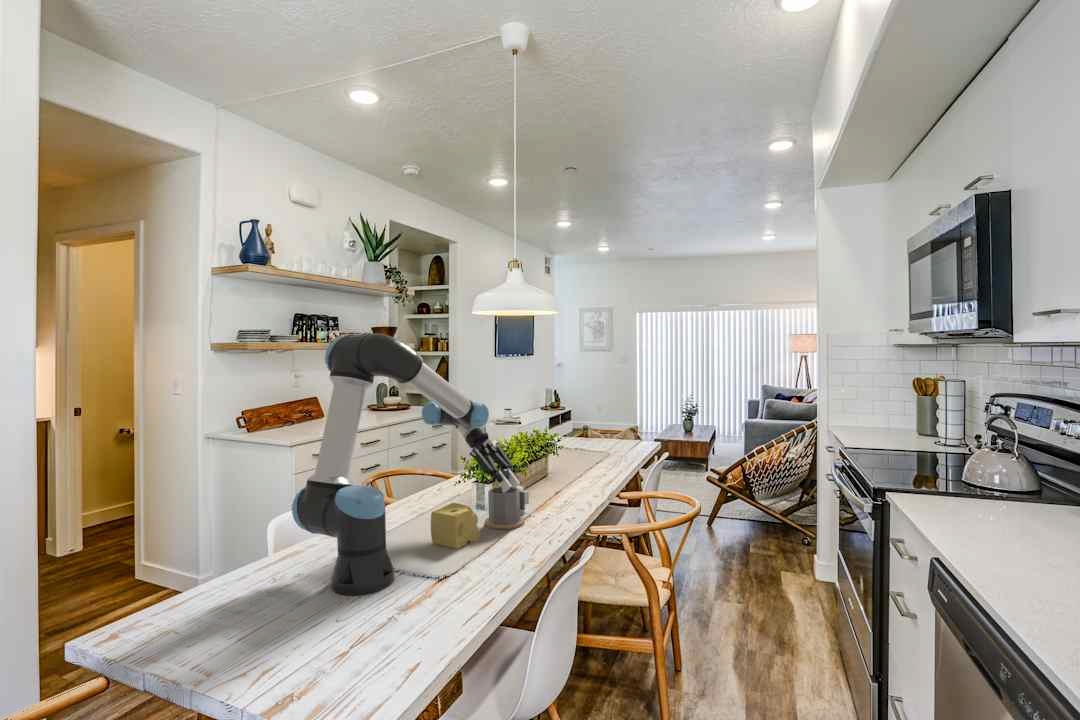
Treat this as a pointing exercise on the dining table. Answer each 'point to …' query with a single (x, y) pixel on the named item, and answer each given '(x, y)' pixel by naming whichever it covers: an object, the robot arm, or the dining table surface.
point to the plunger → (506, 474)
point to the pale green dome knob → (526, 495)
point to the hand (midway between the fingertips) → (512, 487)
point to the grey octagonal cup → (505, 508)
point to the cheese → (454, 526)
